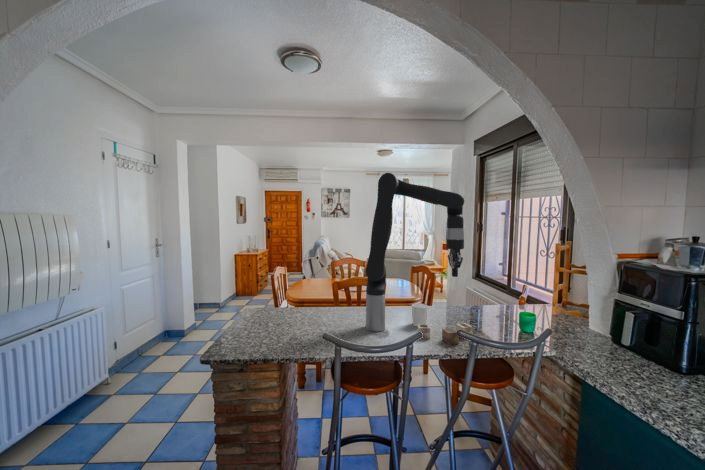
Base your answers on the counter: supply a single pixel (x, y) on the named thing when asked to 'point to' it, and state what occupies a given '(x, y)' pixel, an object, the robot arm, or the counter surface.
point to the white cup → (419, 313)
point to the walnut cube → (450, 336)
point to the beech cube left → (424, 330)
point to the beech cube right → (464, 327)
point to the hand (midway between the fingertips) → (454, 276)
